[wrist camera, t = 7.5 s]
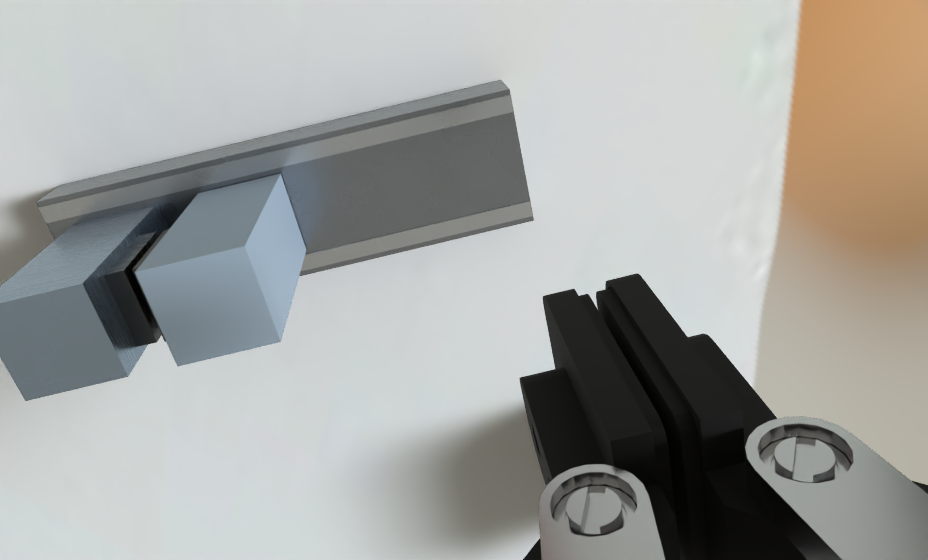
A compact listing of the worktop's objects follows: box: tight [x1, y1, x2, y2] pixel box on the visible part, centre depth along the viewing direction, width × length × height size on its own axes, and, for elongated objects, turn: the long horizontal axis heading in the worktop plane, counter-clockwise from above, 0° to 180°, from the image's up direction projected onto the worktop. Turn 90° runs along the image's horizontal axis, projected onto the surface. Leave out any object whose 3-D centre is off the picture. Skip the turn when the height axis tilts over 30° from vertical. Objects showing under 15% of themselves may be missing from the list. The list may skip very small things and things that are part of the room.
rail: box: [0, 80, 534, 401], centre depth 24 cm, size 5×17×9 cm, turn 103°
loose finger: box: [132, 174, 306, 366], centre depth 23 cm, size 3×4×7 cm
